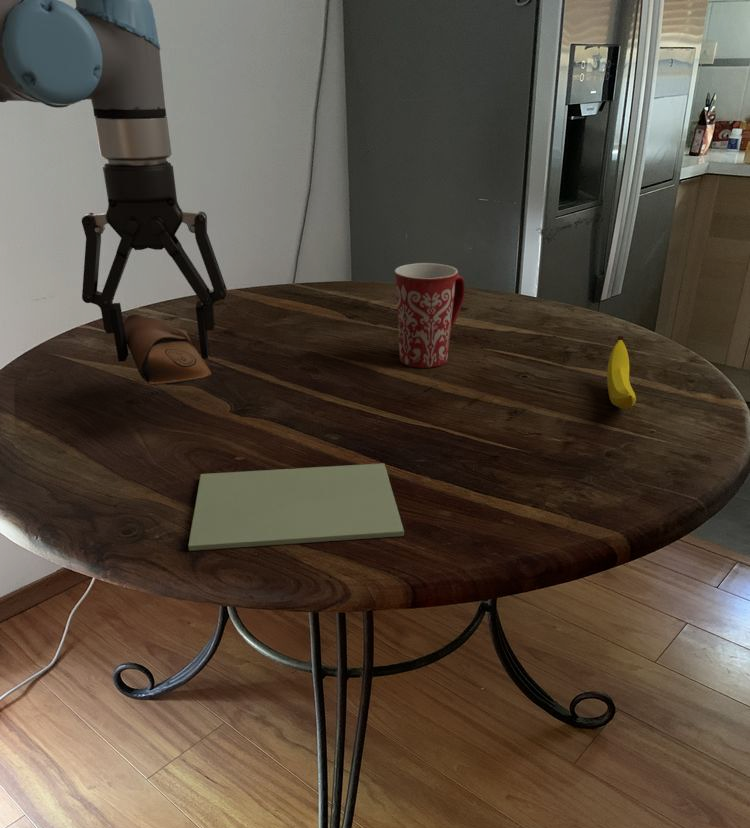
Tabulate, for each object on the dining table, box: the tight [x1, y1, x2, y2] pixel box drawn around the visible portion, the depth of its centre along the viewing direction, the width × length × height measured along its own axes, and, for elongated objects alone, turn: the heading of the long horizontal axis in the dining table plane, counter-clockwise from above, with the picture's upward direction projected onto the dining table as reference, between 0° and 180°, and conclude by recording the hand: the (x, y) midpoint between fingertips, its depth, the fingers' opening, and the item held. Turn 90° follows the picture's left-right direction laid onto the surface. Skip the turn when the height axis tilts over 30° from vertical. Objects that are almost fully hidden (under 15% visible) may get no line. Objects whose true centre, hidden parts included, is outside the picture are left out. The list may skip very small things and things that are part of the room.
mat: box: [187, 462, 405, 552], centre depth 74 cm, size 20×14×1 cm
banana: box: [606, 335, 637, 410], centre depth 95 cm, size 3×19×6 cm, turn 168°
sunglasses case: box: [123, 314, 212, 386], centre depth 91 cm, size 18×7×7 cm, turn 24°
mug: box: [393, 262, 466, 369], centre depth 109 cm, size 13×9×14 cm
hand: (164, 356), depth 92 cm, fingers closed on sunglasses case, 9 cm apart
